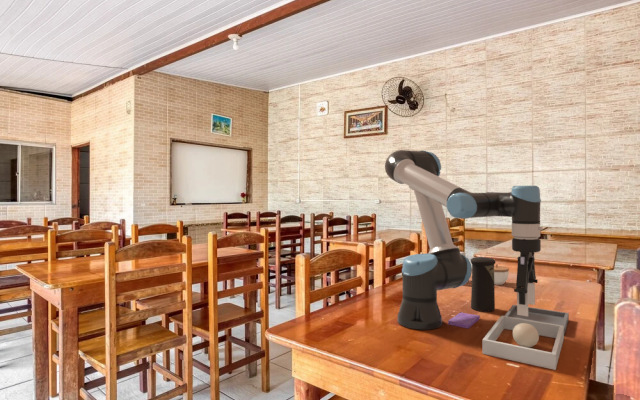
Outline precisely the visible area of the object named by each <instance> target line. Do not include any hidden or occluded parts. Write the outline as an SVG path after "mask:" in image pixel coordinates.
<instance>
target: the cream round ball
mask: <svg viewBox="0 0 640 400" xmlns="http://www.w3.org/2000/svg"><path fill="white" fill-rule="evenodd" d="M512 338H513V340H514V341H515V343H516V345H517V344H518V346H522V347H527V348H532V347H534V346H535V345H537V344H538V343H539V340H540V335H539V334H538V332H537V330H536V329H535V328H534V327H533V326H532V325H530V324H527V323H521V324H518V325H516V326H515V327H514V329H513V330H512Z"/></svg>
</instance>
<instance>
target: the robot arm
mask: <svg viewBox="0 0 640 400" xmlns="http://www.w3.org/2000/svg"><path fill="white" fill-rule="evenodd" d="M384 169H385V173H386V175H387V177H388V178H390V180H392V181H394V182H396V183H398V184H400V185H404V184H405V185H407V186H408V188H409V189H411V190H413V191H414V195H415V196H414V197H415V199H416V202H417V207H418V211H419V214H420V218H421V221H422V225H423V229H424V232H425V235H426V240H427V243H428V247H429V251H428V252H427V253H420V254H419V253H416V254H412V255H411V254H410V255H408V256H406V257H405V258H404V259H403V261H402V268H401V273H402V274H401V276H402V299H401V300H402V301H401V303H400V306H399V310H398V313H397V323H398V324H399V325H400V326H402V327H405V328H408V329H413V330H419V331H421V330H424V331H425V330H427V331H428V330H436V329H438V328H440V327H442V325H443V316H442V314H441V311H440V307H439V304H438V300H437V299H438V297H437V296H438V291H442V290H448V289H457V288H459V287H463V286H464V285H467V283H468V282H469V281H470V278H472V263H471V260H469V258H468V257H466V255H465V256H464V255H462V254H460V252H461V251H460V248H459V247H458V246H457V245H455V244H454V242H453V239H452V235H451V231H450V228H449V226H448V225H449V224H448V221H447V217H446V214H445V211H444V207H446V209H447V212H448V213H449V215H450V216H451V217H452V218H456V219H464V220H465V219H466V220H467V219H473V218H474V219H475V218H488V217H489V218H490V217H491V218H492V217H504V218H505V217H507V218H508V217H509V218H511V236H512V237H513V238H512V239H511V249H512V250H513V251H514V252H519V253H520V254H519V256H518V257H517V258H516V259H517V268H516V269H517V270H516V271H517V272H516V280H515V281H516V282H515V283H516V284H515V288H513V292H514V293H516V305H517V315H522V316H528V307H529V305H532V306H535V305H536V284H538V279H537V276H536V266H535V265H536V264H535V262H536V261H535V259H536V258H535V253H539V252H541V249H542V247H541V246H542V245H541V239H540V237H541V231H543V230H544V229H543V226H541V203H542V199H541V190H540V187H539V186H538V185H514V186H512V187H511V192H498V191H497V192H493V191H491V192H490V191H488V192H471V191H468V190H466V189H465V188H462V187H461V186H458V185H457V184H454V183H452V182H450V181H448V180H446V179H445V178H442V177H440V175H441V170H442V164H441V160H440V159H439V157H438V156H437V155H436V154H435V153H434V152H432V151H426V150H408V149H407V150H405V149H401V150H400V149H399V150H395V151H393V152H392V153H391V154H389V155H388V157H387V158H386V160H385V162H384ZM443 206H444V207H443Z"/></svg>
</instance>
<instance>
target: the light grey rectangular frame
mask: <svg viewBox="0 0 640 400" xmlns="http://www.w3.org/2000/svg"><path fill="white" fill-rule="evenodd" d="M521 323H527V324H530V325H532V326H533V327H534V328H535V329H536V330H537V332H538V334H539V336H542V337H547V338H548V337H549V338H553V339H555V341H554V345H553V347H552V349H551V350H552V351H551V352H550V351H545V350H541V349H536V348H532V347H523V346H520V345H517V344H511V343H507V342H501V341H497V340H498V338H499V337H500V336H501V334H502V332H503V331H504V330H510V331H513V329H514V327H515V326H516V325H518V324H521ZM564 337H565V336H564V326H562V325H556V324H550V323H544V322H538V321H532V320H526V319H520V318H514V317H508V316H505V315H500V317H499V318H498V319H497V321H496V322H495V323H494V324H493V326H492V327H491V328H490V329H489V331H488V332H487V333H486V334H485V336H484V337H483V338H482V341H481V342H482V346H481V347H482V352H481V353H482V354H483V355H487V356H491V357H495V358H500V359H504V360H510V361H513V362H518V363H523V364H527V365H531V366H536V367H540V368H545V369H550V370H554V371H556V369H557V366H558V362H559V360H560V359H559V358H560V355H561V350H562V348H563V343H564Z"/></svg>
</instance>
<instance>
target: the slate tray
mask: <svg viewBox="0 0 640 400" xmlns="http://www.w3.org/2000/svg"><path fill="white" fill-rule="evenodd" d="M504 316H508V317H514V318H520V319H526V320H532V321H538V322H544V323H550V324H556V325H562V326H564V337H565V336H566V331H567V327H568V324H569V316H570V314H569V312H563V311H559V310H558V311H557V310H553V309H552V310H551V309H544V308H538V307H531V306H528V316H522V315H517V304H512V306H510V308H509V309H508V310H507V312H505V315H504Z"/></svg>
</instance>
